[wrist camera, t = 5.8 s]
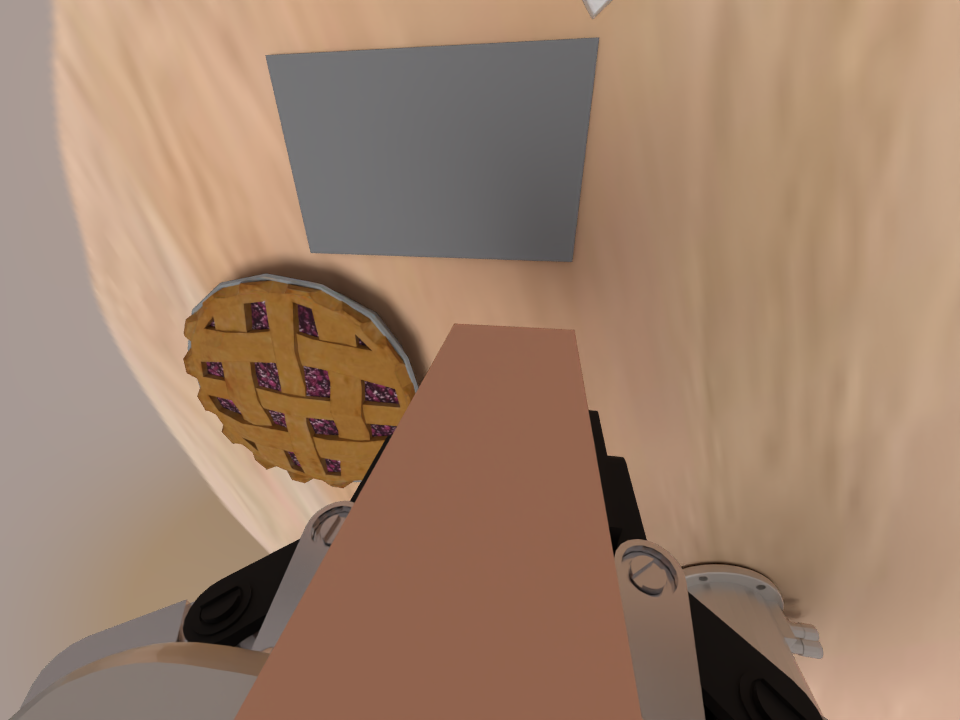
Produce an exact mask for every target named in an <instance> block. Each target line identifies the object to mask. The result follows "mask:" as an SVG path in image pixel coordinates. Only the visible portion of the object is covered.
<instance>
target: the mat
mask: <svg viewBox="0 0 960 720" xmlns="http://www.w3.org/2000/svg"><path fill="white" fill-rule="evenodd" d="M598 43H599V38H581V39H563V40H544V41H525V42H506V43H488V44H469V45H450V46H431V47H413V48H394V49H375V50H356V51H337V52H319V53H300V54H281V55H265V56H266V60H267V64H268V69H269V73H270V77H271V82H272V86H273V91H274V95H275V99H276V104H277V108H278V112H279V117H280V121H281V125H282V130H283V134H284V139H285V143H286V147H287V152H288V156H289V160H290V165H291V169H292V173H293V178H294V182H295V187H296V191H297V195H298V200H299V204H300V208H301V213H302V217H303V222H304V226H305V230H306V235H307V239H308V243H309V248H310V252H311V253H328V254H357V255H386V256H415V257H444V258H473V259H503V260H532V261H561V262H572V259H573V251H574V242H575V234H576V226H577V217H578V209H579V201H580V192H581V184H582V176H583V167H584V159H585V151H586V143H587V134H588V126H589V118H590V109H591V101H592V93H593V84H594V76H595V68H596V59H597V51H598Z"/></svg>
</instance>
